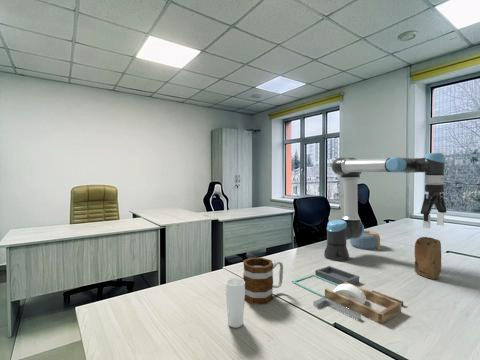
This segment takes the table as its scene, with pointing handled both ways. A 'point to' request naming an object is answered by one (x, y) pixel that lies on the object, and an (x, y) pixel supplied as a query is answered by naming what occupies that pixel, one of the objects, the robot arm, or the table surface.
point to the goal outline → (310, 289)
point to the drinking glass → (235, 301)
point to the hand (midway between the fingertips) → (433, 226)
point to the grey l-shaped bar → (336, 307)
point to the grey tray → (336, 275)
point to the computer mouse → (351, 292)
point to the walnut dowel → (388, 297)
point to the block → (428, 257)
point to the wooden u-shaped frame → (380, 317)
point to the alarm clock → (367, 241)
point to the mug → (260, 280)
